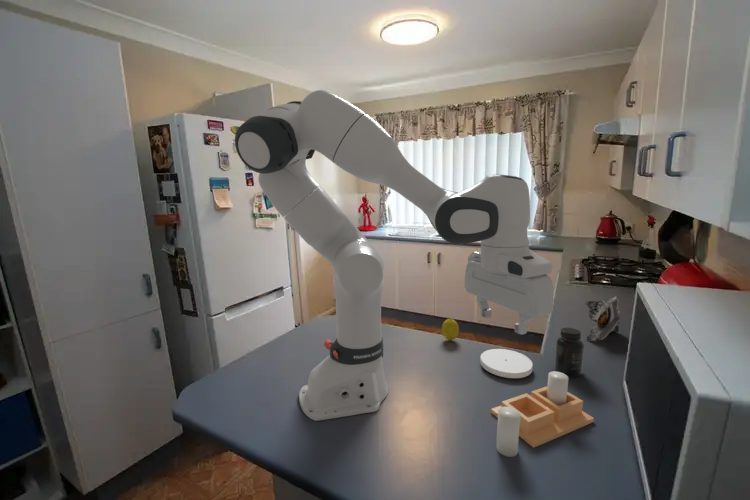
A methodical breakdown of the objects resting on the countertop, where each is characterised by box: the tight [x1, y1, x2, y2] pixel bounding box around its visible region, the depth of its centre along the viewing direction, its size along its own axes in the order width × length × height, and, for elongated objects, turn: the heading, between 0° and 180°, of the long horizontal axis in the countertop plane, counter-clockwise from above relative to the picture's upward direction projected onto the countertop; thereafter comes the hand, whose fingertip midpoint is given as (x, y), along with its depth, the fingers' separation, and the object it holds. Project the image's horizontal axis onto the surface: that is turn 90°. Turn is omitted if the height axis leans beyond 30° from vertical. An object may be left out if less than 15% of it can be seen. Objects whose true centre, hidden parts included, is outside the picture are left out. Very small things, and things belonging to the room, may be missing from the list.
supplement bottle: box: [553, 327, 585, 378], centre depth 96 cm, size 7×7×12 cm
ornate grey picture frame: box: [585, 295, 621, 341], centre depth 118 cm, size 15×4×13 cm, turn 120°
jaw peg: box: [495, 407, 520, 458], centre depth 68 cm, size 4×4×8 cm
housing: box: [490, 370, 595, 449], centre depth 77 cm, size 18×12×9 cm, turn 114°
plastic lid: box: [479, 348, 534, 379], centre depth 99 cm, size 14×14×2 cm
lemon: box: [441, 317, 460, 342], centre depth 116 cm, size 6×6×8 cm
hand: (502, 324), depth 71 cm, fingers open, 8 cm apart
